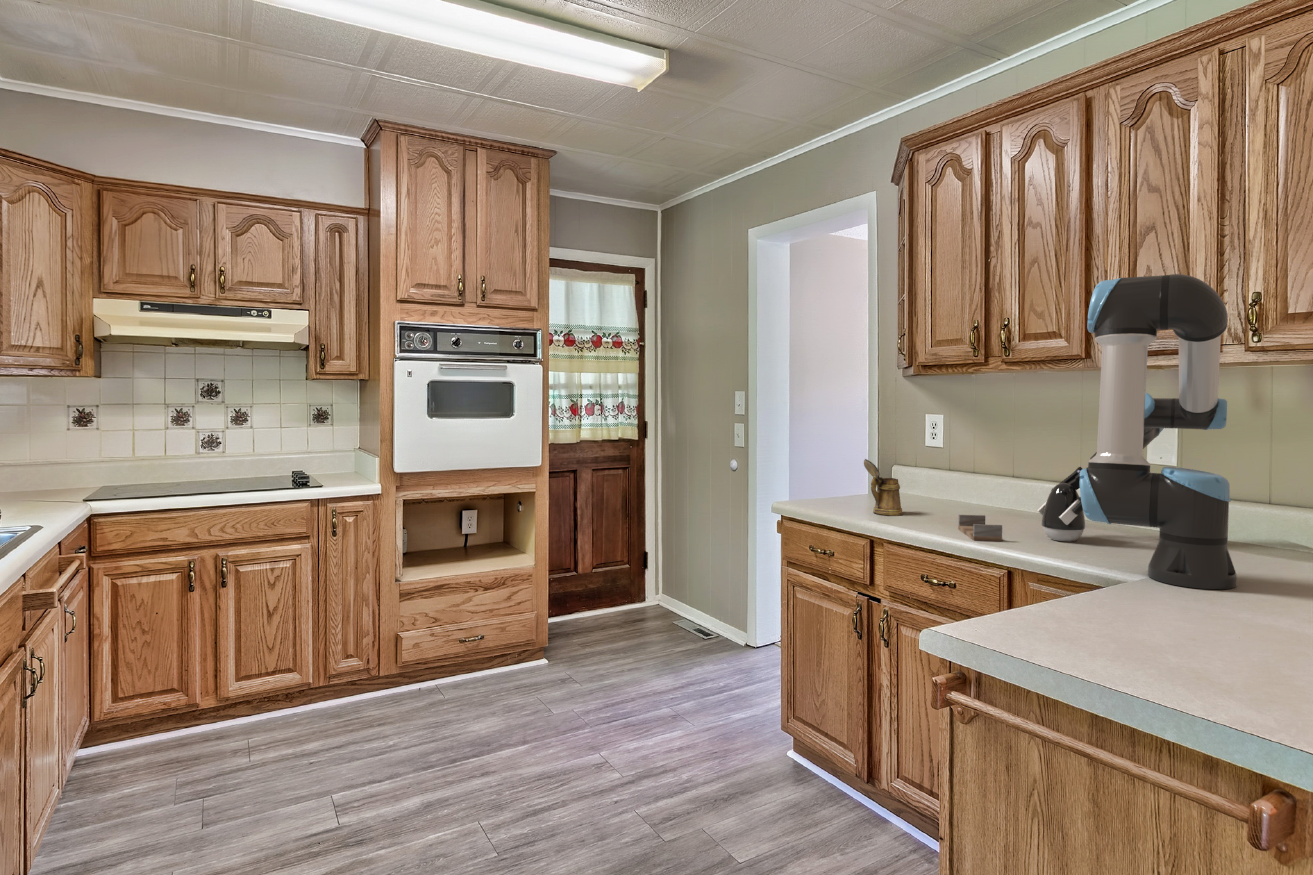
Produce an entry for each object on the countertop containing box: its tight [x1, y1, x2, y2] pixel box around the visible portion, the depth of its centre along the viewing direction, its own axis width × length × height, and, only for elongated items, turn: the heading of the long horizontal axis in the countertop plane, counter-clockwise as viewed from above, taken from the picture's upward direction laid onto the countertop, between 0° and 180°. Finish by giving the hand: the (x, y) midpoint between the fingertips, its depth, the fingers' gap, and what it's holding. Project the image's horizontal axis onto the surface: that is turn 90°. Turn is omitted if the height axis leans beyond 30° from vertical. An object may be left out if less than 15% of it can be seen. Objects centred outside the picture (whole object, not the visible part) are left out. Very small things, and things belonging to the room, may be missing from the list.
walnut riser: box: [957, 514, 1003, 542], centre depth 206 cm, size 16×7×4 cm, turn 172°
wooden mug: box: [863, 458, 904, 517], centre depth 240 cm, size 9×14×18 cm, turn 109°
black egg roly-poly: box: [1041, 482, 1086, 543], centre depth 199 cm, size 10×10×15 cm
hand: (1051, 517), depth 199 cm, fingers closed on black egg roly-poly, 10 cm apart
